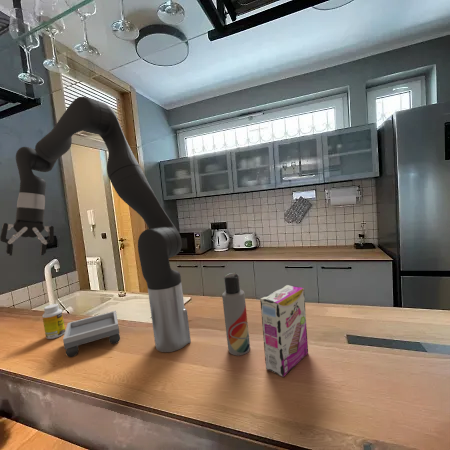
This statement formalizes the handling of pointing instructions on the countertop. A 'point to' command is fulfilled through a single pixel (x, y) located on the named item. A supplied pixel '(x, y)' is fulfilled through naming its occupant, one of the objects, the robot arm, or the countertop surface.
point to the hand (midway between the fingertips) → (26, 255)
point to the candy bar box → (284, 329)
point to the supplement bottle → (53, 321)
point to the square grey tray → (90, 331)
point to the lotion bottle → (235, 316)
